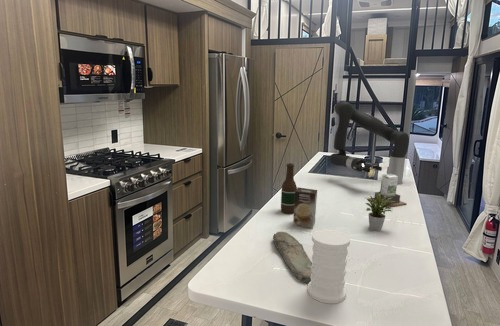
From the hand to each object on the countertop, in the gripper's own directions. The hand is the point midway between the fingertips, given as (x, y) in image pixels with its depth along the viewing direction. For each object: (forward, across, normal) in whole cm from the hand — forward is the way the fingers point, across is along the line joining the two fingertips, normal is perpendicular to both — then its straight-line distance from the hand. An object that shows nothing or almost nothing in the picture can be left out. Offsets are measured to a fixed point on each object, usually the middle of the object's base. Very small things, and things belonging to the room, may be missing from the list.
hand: (375, 169), depth 198 cm
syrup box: (+11, -1, +15) cm, 18 cm away
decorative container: (+67, -83, +14) cm, 107 cm away
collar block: (+10, -1, +16) cm, 19 cm away
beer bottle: (+3, -58, +14) cm, 60 cm away
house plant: (+36, -34, +15) cm, 52 cm away
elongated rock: (+44, -80, +14) cm, 93 cm away
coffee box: (+20, -60, +14) cm, 65 cm away
